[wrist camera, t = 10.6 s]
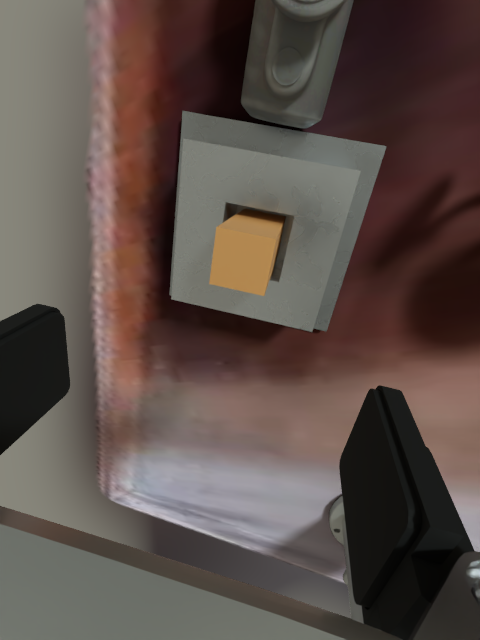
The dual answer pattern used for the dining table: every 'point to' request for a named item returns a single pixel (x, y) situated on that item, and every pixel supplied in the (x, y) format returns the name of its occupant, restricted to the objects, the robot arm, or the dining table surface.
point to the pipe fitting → (293, 59)
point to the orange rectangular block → (246, 251)
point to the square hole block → (276, 198)
